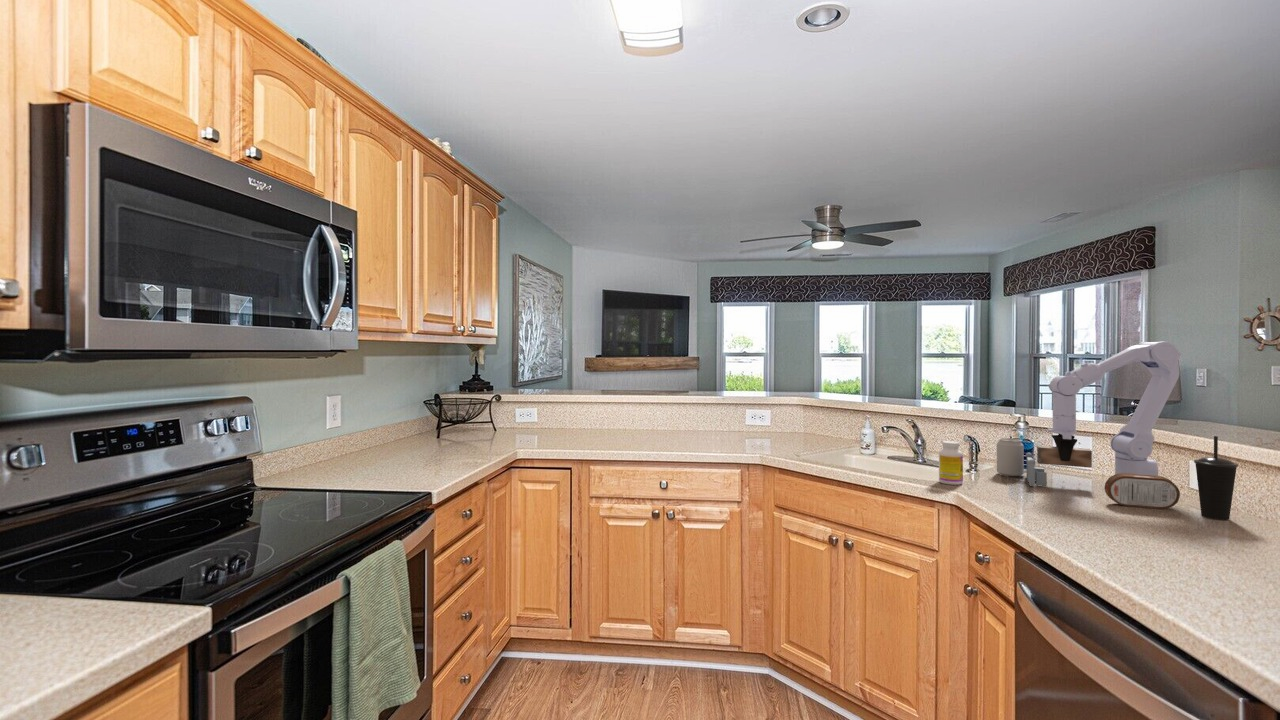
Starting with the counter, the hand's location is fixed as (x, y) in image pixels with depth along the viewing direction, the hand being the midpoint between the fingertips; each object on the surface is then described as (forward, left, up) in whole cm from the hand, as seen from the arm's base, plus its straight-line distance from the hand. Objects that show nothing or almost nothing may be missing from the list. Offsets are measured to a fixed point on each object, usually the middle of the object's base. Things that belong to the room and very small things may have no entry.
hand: (1064, 459), depth 173 cm
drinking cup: (-28, +23, -8) cm, 37 cm away
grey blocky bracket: (+7, 0, -8) cm, 10 cm away
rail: (0, 0, -2) cm, 2 cm away
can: (+13, -9, -8) cm, 18 cm away
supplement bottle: (+30, +12, -8) cm, 33 cm away
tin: (-15, +19, -8) cm, 25 cm away
